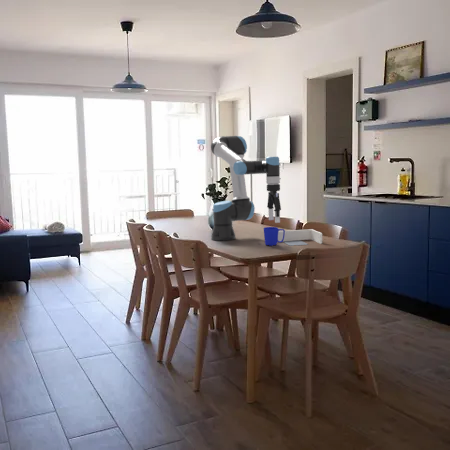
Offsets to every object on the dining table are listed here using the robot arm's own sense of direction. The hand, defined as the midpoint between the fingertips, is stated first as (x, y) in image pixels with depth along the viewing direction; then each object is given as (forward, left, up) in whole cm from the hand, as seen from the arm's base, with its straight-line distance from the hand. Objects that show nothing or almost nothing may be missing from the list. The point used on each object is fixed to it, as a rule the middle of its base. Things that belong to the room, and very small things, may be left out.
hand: (274, 221), depth 301 cm
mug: (0, 0, -14) cm, 14 cm away
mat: (+13, +2, -14) cm, 19 cm away
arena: (+14, +4, -14) cm, 20 cm away
